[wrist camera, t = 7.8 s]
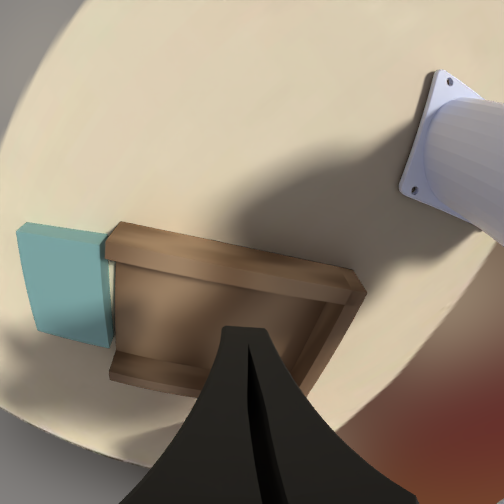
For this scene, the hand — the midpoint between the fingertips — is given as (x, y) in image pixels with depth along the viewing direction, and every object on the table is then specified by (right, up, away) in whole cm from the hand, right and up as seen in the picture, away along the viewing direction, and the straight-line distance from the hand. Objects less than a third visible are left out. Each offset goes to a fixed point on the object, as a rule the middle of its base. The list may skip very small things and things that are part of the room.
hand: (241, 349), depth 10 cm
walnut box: (-2, -1, +10) cm, 10 cm away
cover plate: (-12, +1, +9) cm, 15 cm away
